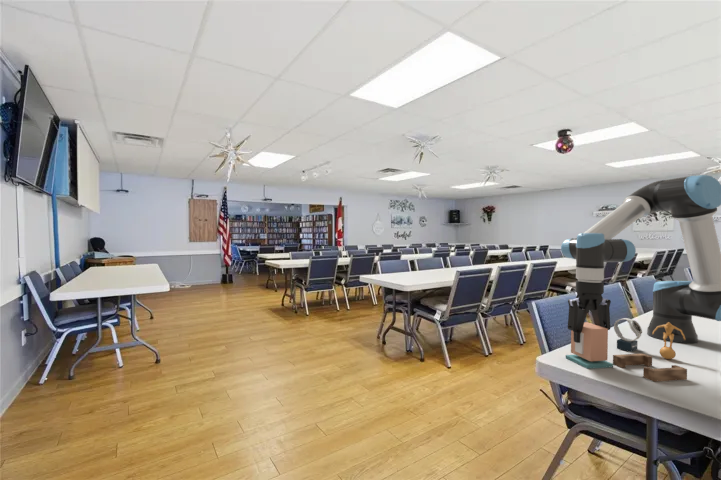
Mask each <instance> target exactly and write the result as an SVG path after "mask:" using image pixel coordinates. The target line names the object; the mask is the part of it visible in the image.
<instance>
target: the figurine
mask: <svg viewBox="0 0 721 480" xmlns="http://www.w3.org/2000/svg"><path fill="white" fill-rule="evenodd" d="M660 327H665V330H666V333H665V332H664V333H663V339H664V340H663V342H664V344H663V346H662V347H660V349H659V354H660V357H662V358H664V360H665V359H666V360H673V359H675V357H676V351H675V350H674V349H673V343H674V342H673V339H674V334H671V333H672V331H673V329H676V330H679V331H680V332H681V334H682V336H683V338H684V339H685V336H684V334H683V332H682V330H680V329H679V328H677V327H675V326H673V325H672V324H671V323H669V322H668V323H667V324H665V325H661V326H657V327H656V329H655V330H654V331H653V333H652V334H654V332H655V331H656V330H657V329H658V328H660ZM667 336H669V338H670V340H671V341H669V346H667V340H665V339H666V338H667Z"/></svg>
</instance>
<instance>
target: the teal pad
mask: <svg viewBox="0 0 721 480" xmlns="http://www.w3.org/2000/svg"><path fill="white" fill-rule="evenodd" d="M565 359H567V360H569V361H570V362H573V363H575V364H577V365H580V367H583V368H586V369H602V368H604V369H605V368H613V367H614V365H613V362H609V361H608V360H606V361H589V360H586V359H584V358H582V357H580V356H577V355H575V354H566V355H565Z"/></svg>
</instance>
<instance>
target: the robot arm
mask: <svg viewBox="0 0 721 480" xmlns="http://www.w3.org/2000/svg"><path fill="white" fill-rule="evenodd" d="M720 206H721V182H720V181H719V180H718V179H717V178H715V177H713V176H711V175H707V174H700V175H689V176H682V177H677V178H670V179H663V180H657V181H654V182H651V183H649V184H646V185H644V186H642V187H641V188H638V189H637V190H635V191H633V192H632V193H630V195H628V196H626V197H625V198H624V199H623V201H622V204H620V205H619V206H618V207H617V208H615V209H614V210H613V211H611V212H609V214H607V215H606V216H604V217H603V218H602V219H600V220H599V221H598V222H596V223H595V224H593V225H592V226H591V227H589V228H588V229H587V230H586V231H584V232H583V233H582V232H581V233H578V234H577V235H576V238H573V237H572V238H567V239H565V240H564V241H563V242H562V243H561V245H560V251H561V253H562V255H563V256H564V257H565V258H567V259H572V260H575V261H576V262H575V279H577V280H576V281H575V292H576V293H577V294H576V297H575V298H572V299H571V298H569V299H568V300H567V303H568V315H567V316H568V318H567V329H568V330H570V331H571V330H572V331H573V332H574V342H575V351H576V352H578V353H581V354H584V333H581V332H582V329H583V325H584V322H586V318H587V314H589V312H591V316H592V318H593V324H595V325H598V326H601V327H604V328H607V329H608V331H610V330H611V317H610V315H611V314H610V306H611V299H608V298H604V297H603V294H604V293H605V292H604V291H605V283H604V280H605V263H623V262H629V261H632V259H634V257H635V256H636V253H637V252H636V246H635V244H634V243H633V242H632V241H630V240H628V239H623V238H619V239H618V238H616V239H615V237H616V236H618V235H619V234H620V233H621V232H623V231H625V229H627V228H628V227H629V226H631V225H632V224H633V223H634V222H636V221H637V220H639V219H642V218H645V217H647V216H649V215H650V214H653V213H657V212H670V213H671V217H672V219H674V220H676V221H678V222H679V226H680V231H681V236H682V240H683V244H684V247H685V251H686V256H687V260H688V265H689V269H690V271H691V275H692V281H691V280H665V281H663V280H662V281H661V280H658V281H656V282H654V284H653V287H652V288H653V289H652V295H653V296H652V318H651V320H650V322H649V324H648V327H647V329H646V334H647V335H648V336H650V337H652V338H655V339H659V340H663V341H664V339H663V333H664V332H665V333H666V330H665V327H660V328H658V329H657V330H656V331H655V332H654V334H652V333H653V331H654V330H655V329H656V327H657V326H661V325H665V324H667V323H668V322H669V323H671V324H672V325H673V326H675V327H677V328H679V329H680V330H682V332H683V334H684V336H685V339H684V338H683V336H682V334H681V332H680V331H679V330H676V329H673V331H672V333H671V334H674V339H673V343H682V344H683V343H684V344H694V343H698V342H699V340H698V339H699V336H698V334H697V332H696V329H695V326H694V324H693V323H694V322H693V317H698V318H703V319H708V320H713V321H717V322H721V247H720V244H719V239H718V235H717V231H716V226H715V222H714V218H713V216H714V214H716V213H717V212H718V207H720ZM577 328H578V329H577ZM665 340H666V342H667V341H668V342H670V341H671V340H670V338H669V336H667V338H666V339H665Z"/></svg>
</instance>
